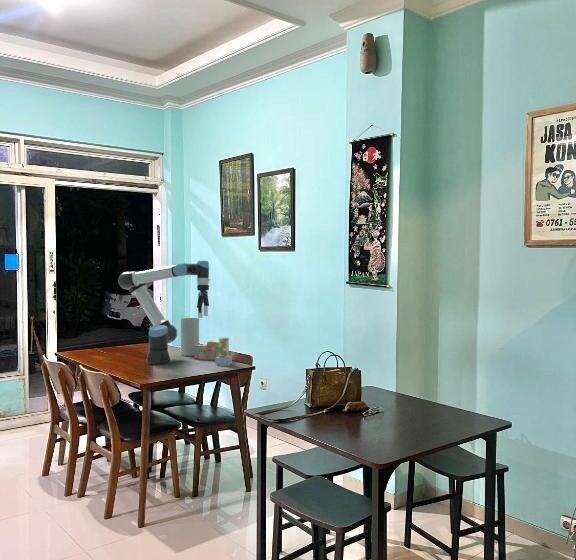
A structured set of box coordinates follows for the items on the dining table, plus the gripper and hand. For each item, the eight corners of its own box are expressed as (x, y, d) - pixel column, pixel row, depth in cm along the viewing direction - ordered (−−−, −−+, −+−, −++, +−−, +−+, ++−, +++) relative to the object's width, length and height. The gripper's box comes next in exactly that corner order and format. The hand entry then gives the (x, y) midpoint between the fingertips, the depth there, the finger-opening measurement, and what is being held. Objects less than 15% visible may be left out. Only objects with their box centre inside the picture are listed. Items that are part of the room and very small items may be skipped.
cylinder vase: (199, 355, 396) (199, 319, 395) (181, 356, 393) (181, 320, 392) (198, 353, 408) (198, 317, 407) (180, 353, 405) (180, 318, 404)
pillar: (218, 357, 362) (218, 338, 361) (220, 356, 367) (220, 337, 366) (226, 357, 362) (226, 338, 361) (228, 356, 366) (228, 337, 366)
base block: (215, 365, 362) (215, 357, 361) (220, 363, 369) (220, 355, 369) (227, 366, 360) (227, 358, 360) (231, 364, 367) (231, 356, 367)
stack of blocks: (194, 359, 384) (194, 340, 383) (198, 357, 389) (198, 339, 389) (224, 361, 377) (224, 342, 377) (227, 359, 383) (227, 341, 383)
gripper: (203, 285, 363) (203, 318, 364) (213, 283, 388) (213, 315, 389) (192, 285, 364) (192, 318, 365) (202, 283, 389) (202, 314, 390)
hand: (203, 316), depth 377 cm, fingers open, 13 cm apart
